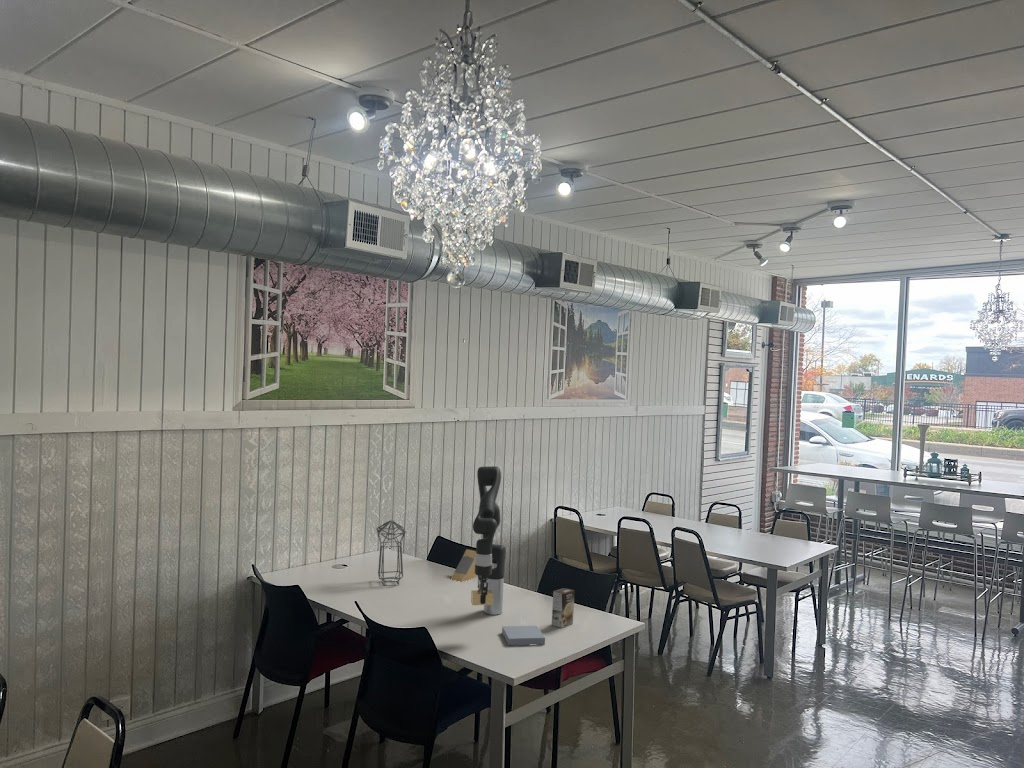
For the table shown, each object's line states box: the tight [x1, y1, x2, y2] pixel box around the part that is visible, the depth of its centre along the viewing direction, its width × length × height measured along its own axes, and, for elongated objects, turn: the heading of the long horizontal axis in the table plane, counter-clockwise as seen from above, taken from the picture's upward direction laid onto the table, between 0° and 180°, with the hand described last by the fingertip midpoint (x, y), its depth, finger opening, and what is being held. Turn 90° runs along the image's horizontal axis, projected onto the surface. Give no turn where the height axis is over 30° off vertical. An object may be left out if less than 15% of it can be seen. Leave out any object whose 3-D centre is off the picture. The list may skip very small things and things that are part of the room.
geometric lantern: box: [375, 519, 407, 586], centre depth 407 cm, size 16×16×35 cm
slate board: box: [501, 625, 546, 646], centre depth 328 cm, size 16×16×3 cm
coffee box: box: [551, 587, 576, 629], centre depth 350 cm, size 9×6×16 cm
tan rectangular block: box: [470, 589, 493, 606], centre depth 326 cm, size 5×9×5 cm, turn 101°
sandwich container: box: [450, 548, 478, 583], centre depth 424 cm, size 9×15×15 cm, turn 148°
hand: (481, 601), depth 326 cm, fingers closed on tan rectangular block, 5 cm apart
